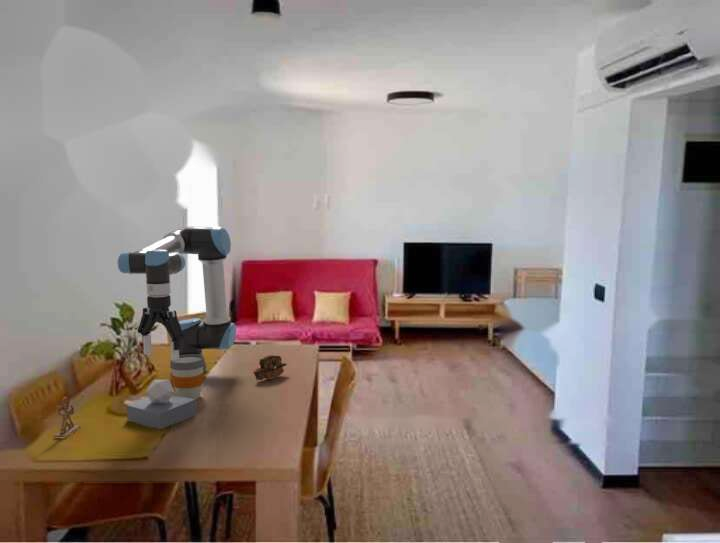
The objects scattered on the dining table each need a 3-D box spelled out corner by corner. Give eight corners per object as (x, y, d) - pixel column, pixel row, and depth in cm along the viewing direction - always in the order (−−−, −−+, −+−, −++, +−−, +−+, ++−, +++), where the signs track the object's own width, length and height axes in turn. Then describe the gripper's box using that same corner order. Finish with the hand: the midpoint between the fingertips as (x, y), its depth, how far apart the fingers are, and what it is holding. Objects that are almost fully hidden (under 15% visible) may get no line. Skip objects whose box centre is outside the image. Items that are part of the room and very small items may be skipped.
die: (158, 410, 192) (175, 385, 194) (137, 396, 193) (154, 371, 195) (165, 410, 200) (182, 386, 202) (146, 397, 201) (162, 373, 203)
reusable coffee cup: (211, 396, 220) (210, 358, 219) (182, 404, 211) (180, 365, 210) (194, 389, 229) (193, 352, 227) (165, 396, 220) (163, 358, 218)
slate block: (127, 422, 196) (126, 405, 195) (164, 407, 209) (164, 391, 209) (160, 431, 188) (159, 413, 187) (196, 415, 201) (195, 399, 201)
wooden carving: (260, 384, 235) (259, 361, 234) (252, 382, 238) (252, 359, 237) (288, 375, 248) (288, 352, 247) (281, 373, 251) (280, 351, 250)
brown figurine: (69, 427, 189) (67, 392, 188) (80, 428, 189) (78, 393, 187) (53, 438, 180) (51, 401, 179) (65, 439, 180) (62, 402, 179)
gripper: (124, 293, 196) (127, 353, 199) (176, 300, 184) (178, 364, 187) (142, 290, 203) (145, 349, 205) (193, 296, 190) (195, 358, 193)
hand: (161, 356), depth 196 cm, fingers open, 13 cm apart
